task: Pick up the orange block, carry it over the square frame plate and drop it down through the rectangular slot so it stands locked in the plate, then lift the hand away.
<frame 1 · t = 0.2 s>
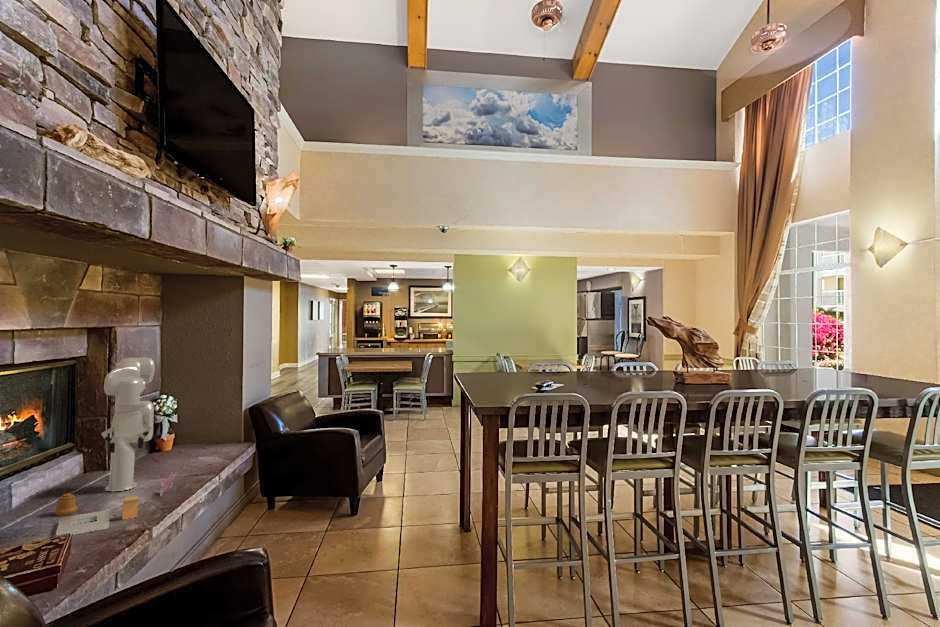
hand: (126, 449, 194), 30 cm above the countertop, tool pointing down, fingers open, 9 cm apart
ornamental finial: (65, 513, 199), on the countertop
square frame plate: (84, 525, 188), on the countertop
lily: (167, 493, 225), on the countertop
orange block: (129, 517, 197), on the countertop
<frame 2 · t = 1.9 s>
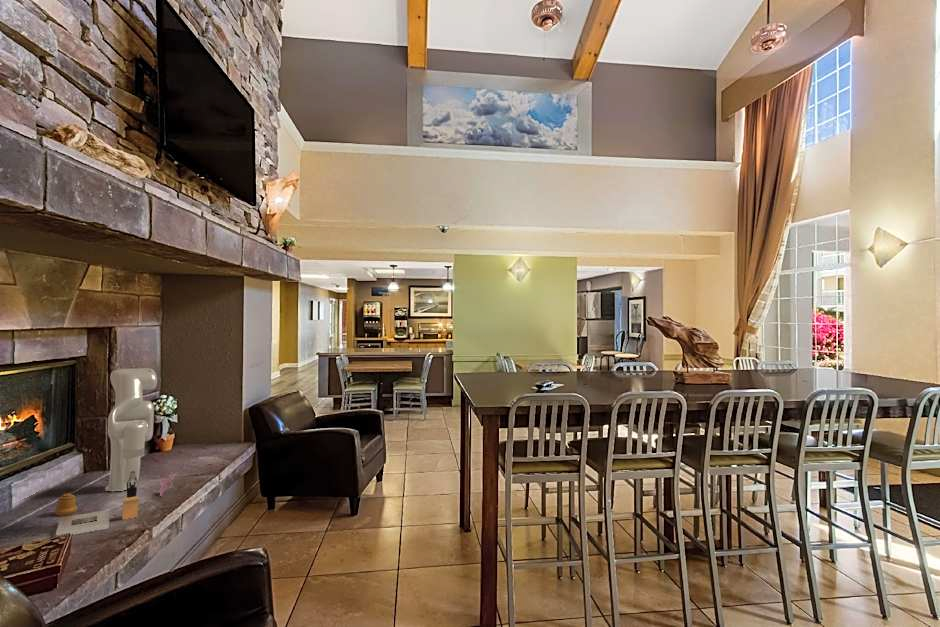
hand: (131, 493, 197), 10 cm above the countertop, tool pointing down, fingers open, 9 cm apart
nothing on the countertop moved.
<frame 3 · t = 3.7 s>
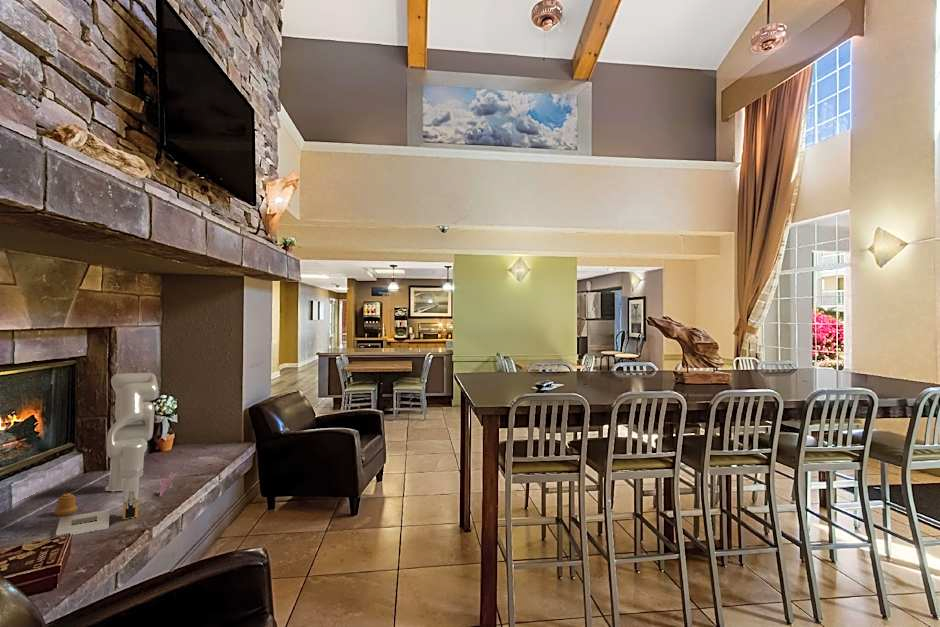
hand: (130, 515, 197), 1 cm above the countertop, tool pointing down, fingers closed on orange block, 2 cm apart
orange block: (130, 517, 197), on the countertop, touching gripper
everything else where it was.
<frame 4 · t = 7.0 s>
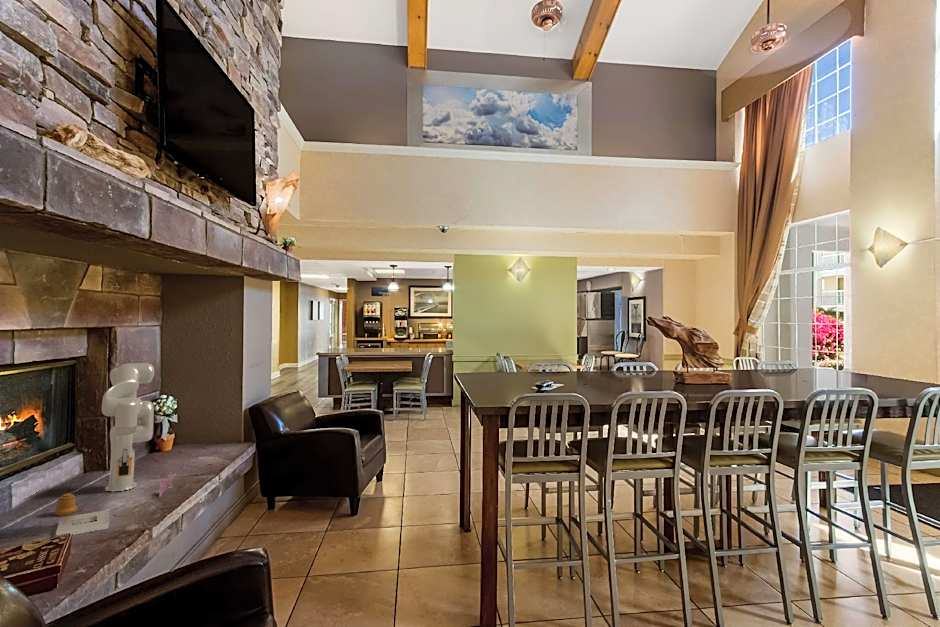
hand: (123, 473, 196), 19 cm above the countertop, tool pointing down, fingers closed on orange block, 3 cm apart
orange block: (123, 475, 196), point 18 cm above the countertop, touching gripper
everything else where it was.
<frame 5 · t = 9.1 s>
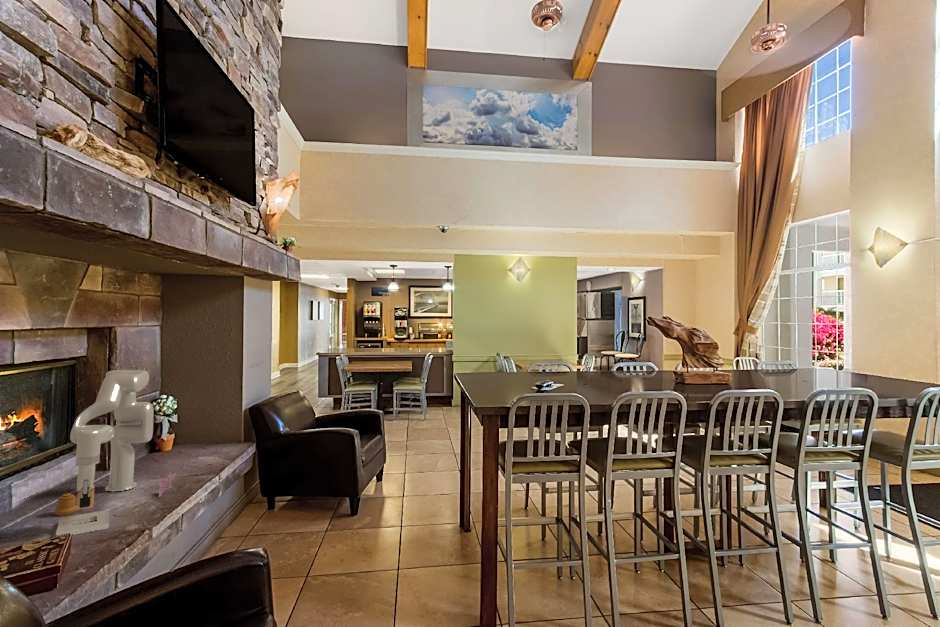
hand: (85, 505, 188), 8 cm above the countertop, tool pointing down, fingers closed on orange block, 3 cm apart
orange block: (85, 507, 188), point 7 cm above the countertop, touching gripper
everything else where it was.
when the fingers open (2 cm above the countertop, at t = 10.6 s): orange block drops 1 cm, resting in square frame plate.
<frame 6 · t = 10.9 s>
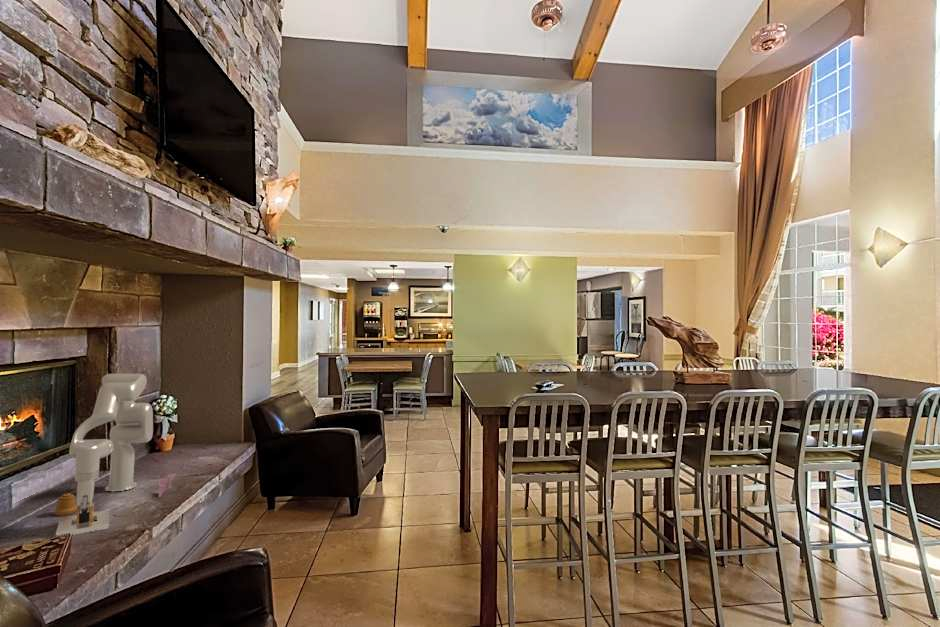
hand: (84, 519, 188), 3 cm above the countertop, tool pointing down, fingers open, 6 cm apart
orange block: (84, 525, 188), resting in square frame plate
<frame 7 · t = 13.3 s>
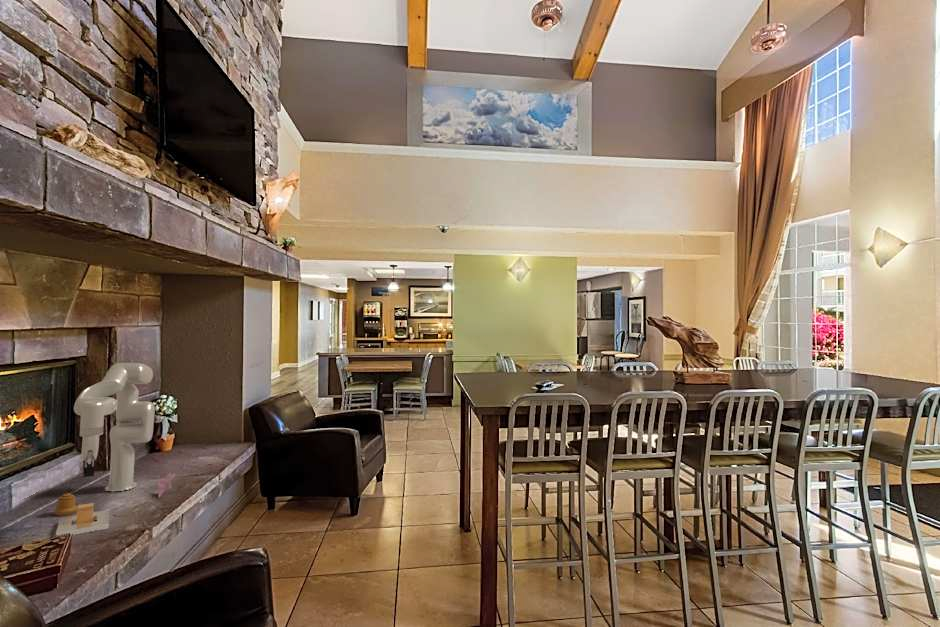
hand: (89, 472, 190), 21 cm above the countertop, tool pointing down, fingers open, 9 cm apart
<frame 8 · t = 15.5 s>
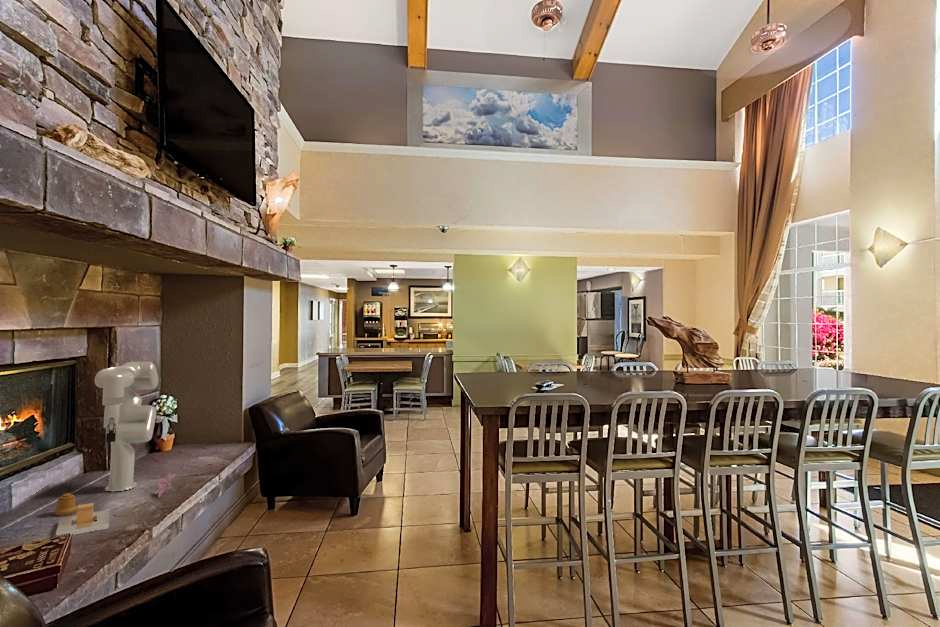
hand: (110, 439, 206), 30 cm above the countertop, tool pointing down, fingers open, 9 cm apart
at the end: orange block 0.2 cm off-centre on the square frame plate, point 0.0 cm above the square frame plate's base; orange block tilted 0°; the gripper is holding nothing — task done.
